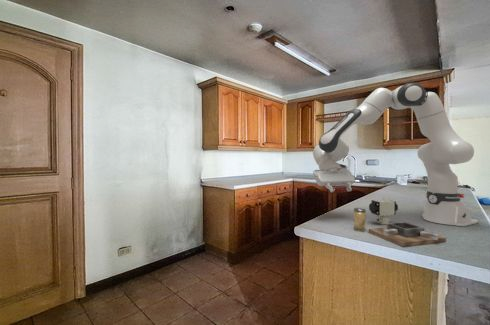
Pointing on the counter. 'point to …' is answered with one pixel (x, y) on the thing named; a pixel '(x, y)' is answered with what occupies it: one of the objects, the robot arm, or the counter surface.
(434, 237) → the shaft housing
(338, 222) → the counter surface
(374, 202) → the pneumatic valve
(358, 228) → the amber cylinder
